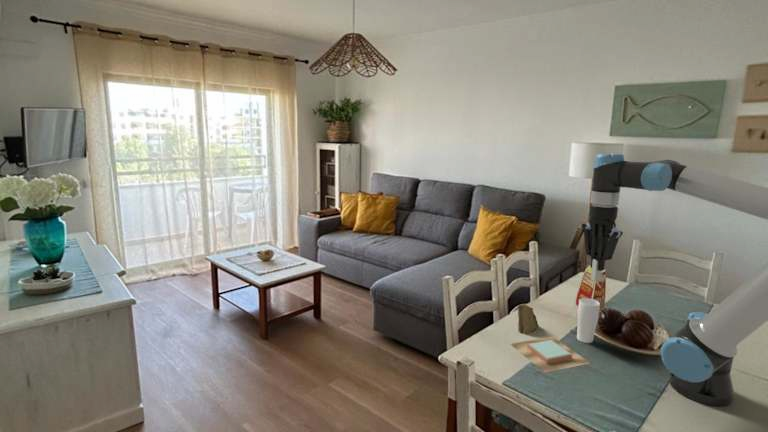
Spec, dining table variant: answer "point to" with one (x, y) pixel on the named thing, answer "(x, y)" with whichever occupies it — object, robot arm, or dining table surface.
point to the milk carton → (592, 288)
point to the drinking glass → (587, 319)
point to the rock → (526, 319)
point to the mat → (549, 367)
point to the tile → (549, 351)
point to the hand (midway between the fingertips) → (595, 279)
